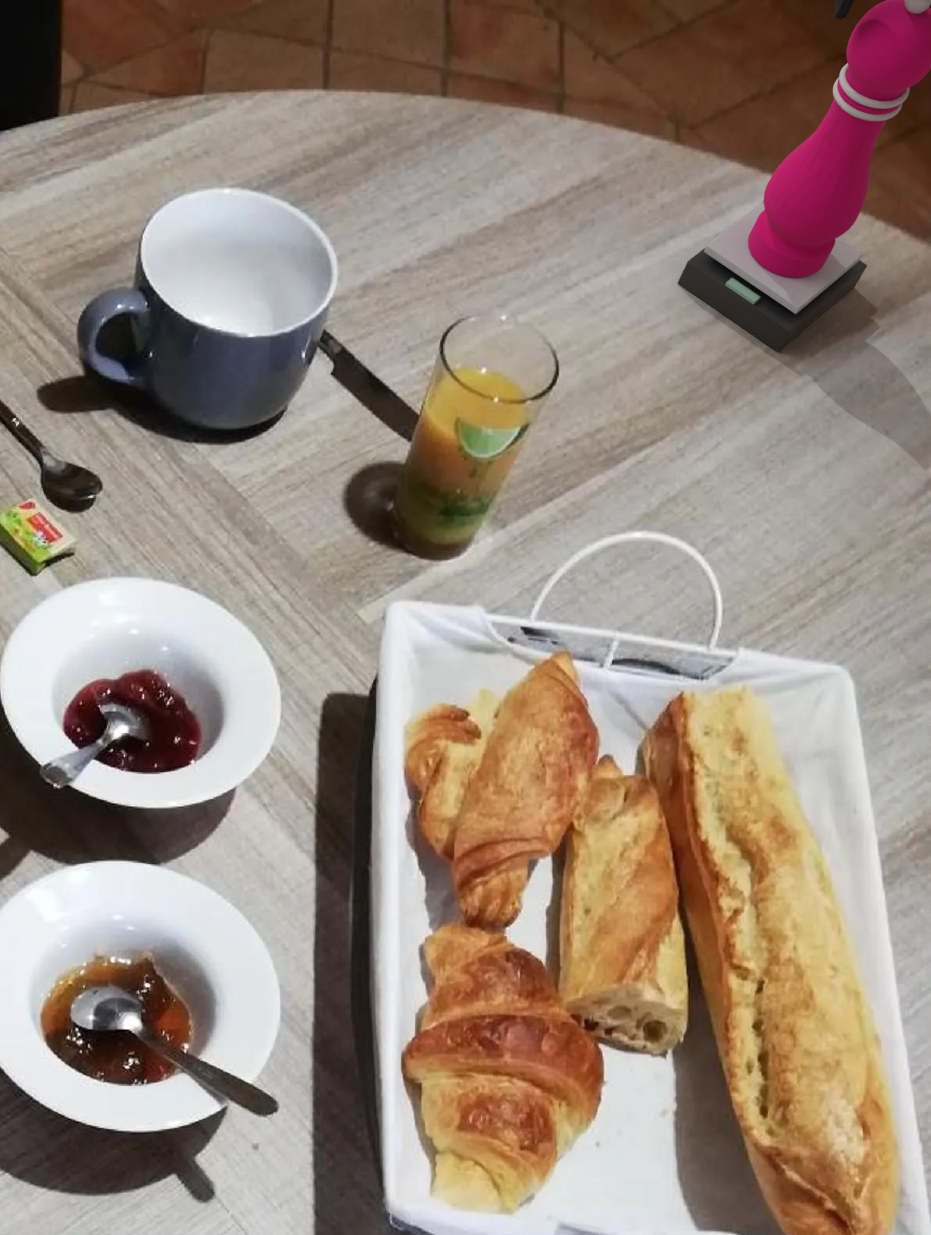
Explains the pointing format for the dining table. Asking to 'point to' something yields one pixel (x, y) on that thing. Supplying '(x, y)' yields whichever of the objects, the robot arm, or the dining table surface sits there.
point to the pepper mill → (842, 142)
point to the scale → (767, 285)
